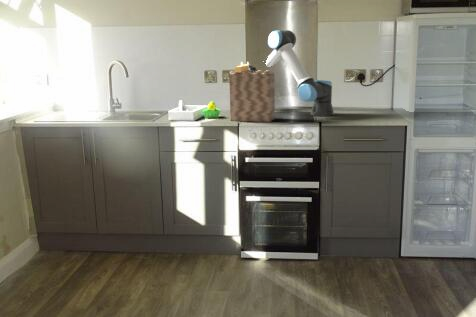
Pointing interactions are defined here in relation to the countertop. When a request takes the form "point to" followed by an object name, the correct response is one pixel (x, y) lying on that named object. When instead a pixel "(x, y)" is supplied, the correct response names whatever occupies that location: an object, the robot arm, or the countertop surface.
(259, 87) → the brown patterned box
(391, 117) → the countertop surface
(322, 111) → the robot arm
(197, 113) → the tray
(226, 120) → the countertop surface
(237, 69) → the bar
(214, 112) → the fruit basket
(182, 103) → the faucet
